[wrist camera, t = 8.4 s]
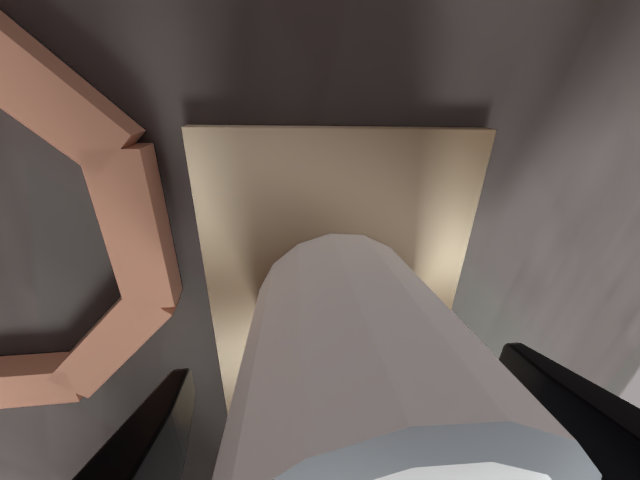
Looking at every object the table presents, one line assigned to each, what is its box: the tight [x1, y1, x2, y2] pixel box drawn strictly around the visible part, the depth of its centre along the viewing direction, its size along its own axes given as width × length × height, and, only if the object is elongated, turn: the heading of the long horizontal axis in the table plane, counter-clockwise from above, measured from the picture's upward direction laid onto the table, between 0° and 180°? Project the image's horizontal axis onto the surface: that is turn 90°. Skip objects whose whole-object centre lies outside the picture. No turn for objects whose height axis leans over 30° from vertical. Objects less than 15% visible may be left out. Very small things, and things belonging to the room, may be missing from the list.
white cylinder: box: [212, 233, 602, 480], centre depth 8 cm, size 7×7×7 cm
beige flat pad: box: [181, 125, 497, 414], centre depth 12 cm, size 12×9×1 cm
